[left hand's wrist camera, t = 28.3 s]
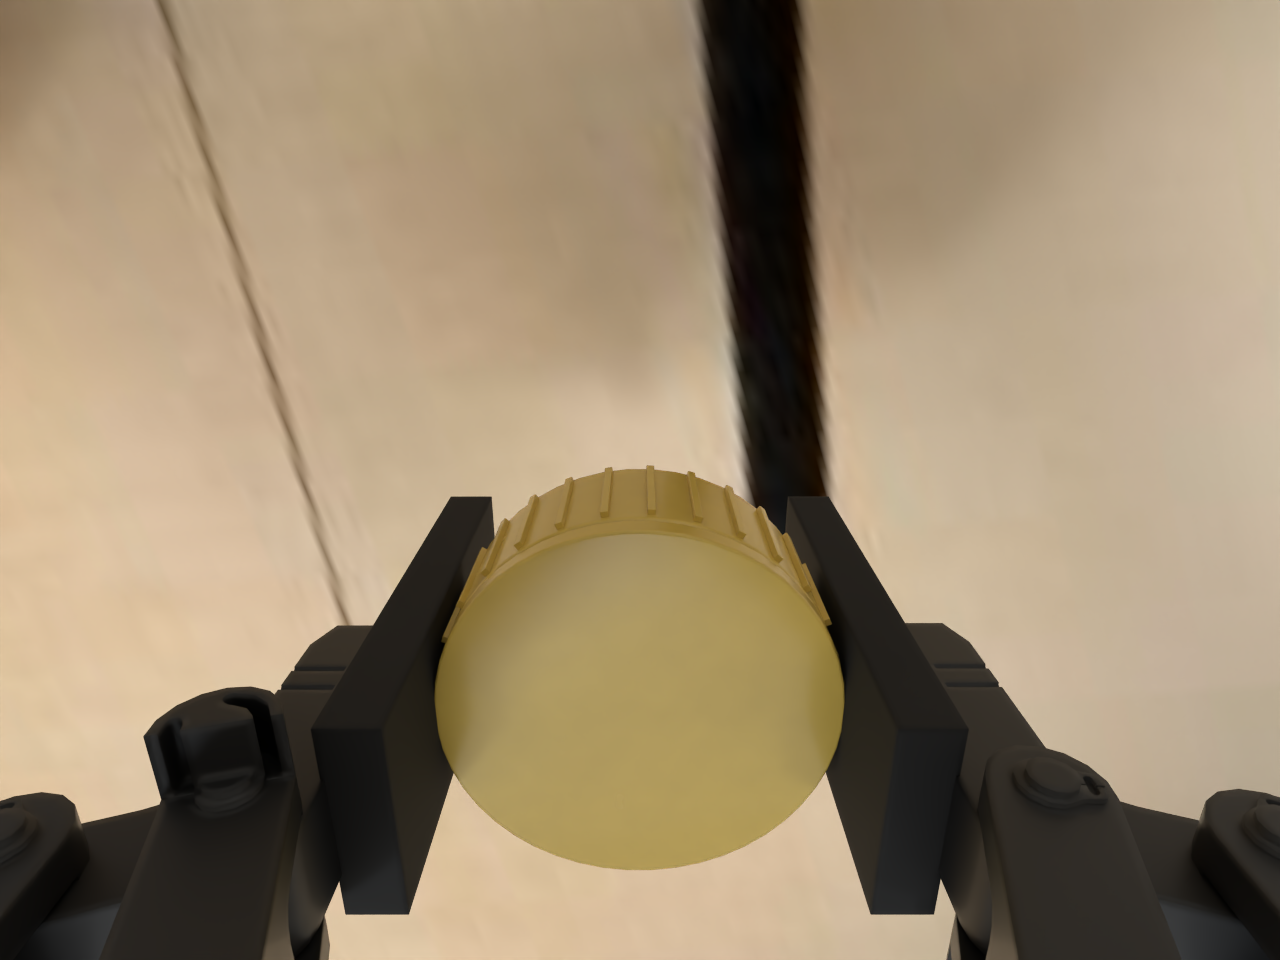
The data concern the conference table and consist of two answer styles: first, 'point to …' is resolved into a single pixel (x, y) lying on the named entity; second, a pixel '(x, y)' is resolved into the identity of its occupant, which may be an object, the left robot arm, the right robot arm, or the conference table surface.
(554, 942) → the conference table surface
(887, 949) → the conference table surface
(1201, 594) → the conference table surface
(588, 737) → the lid
